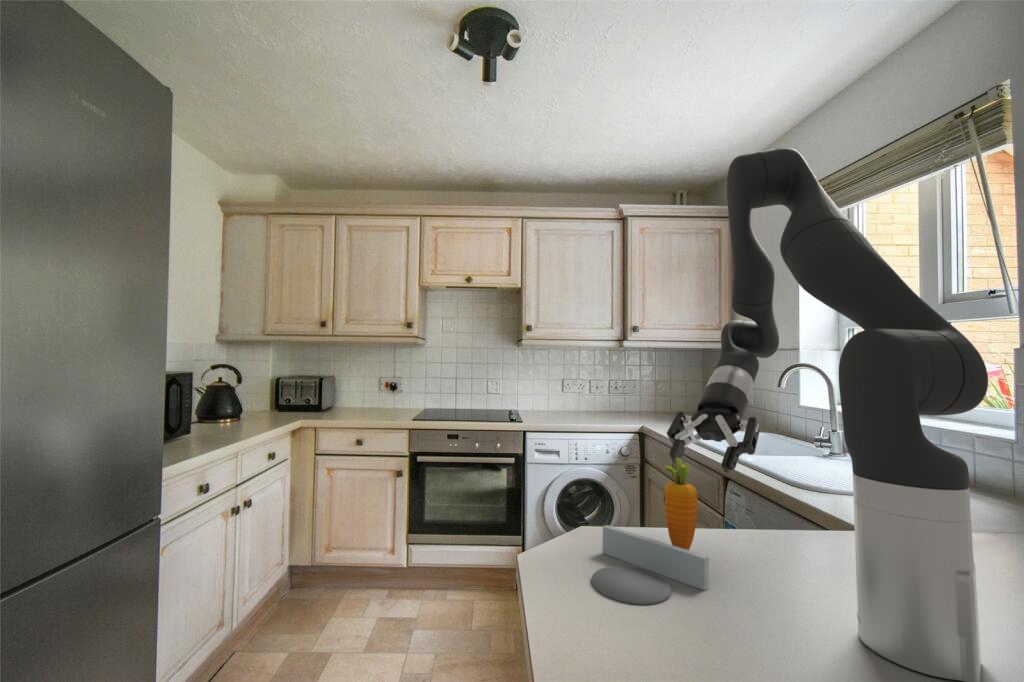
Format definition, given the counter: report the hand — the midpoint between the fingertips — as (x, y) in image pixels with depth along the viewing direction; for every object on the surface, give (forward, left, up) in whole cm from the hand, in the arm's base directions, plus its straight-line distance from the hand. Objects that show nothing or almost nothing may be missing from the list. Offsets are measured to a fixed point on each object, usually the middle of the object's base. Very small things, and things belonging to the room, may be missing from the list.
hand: (698, 465), depth 73 cm
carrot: (0, +6, -14) cm, 15 cm away
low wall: (+1, +13, -13) cm, 19 cm away
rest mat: (0, +20, -13) cm, 24 cm away
